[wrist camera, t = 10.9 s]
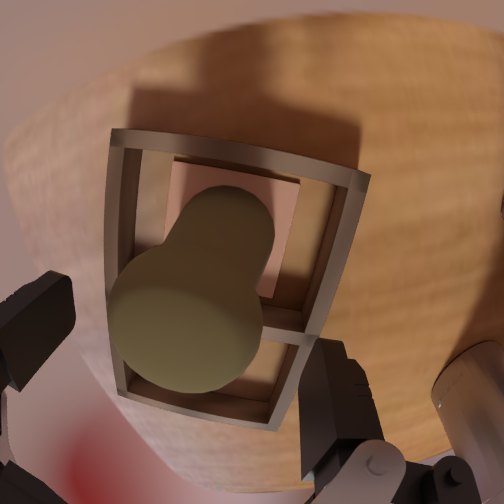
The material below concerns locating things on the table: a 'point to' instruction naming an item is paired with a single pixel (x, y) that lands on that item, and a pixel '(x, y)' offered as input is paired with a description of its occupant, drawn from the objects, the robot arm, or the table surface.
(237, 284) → the cork
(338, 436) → the robot arm
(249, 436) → the table surface
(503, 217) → the flask
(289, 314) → the caddy
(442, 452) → the table surface
